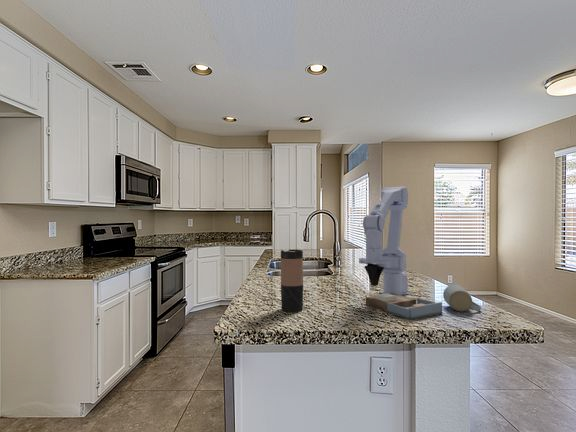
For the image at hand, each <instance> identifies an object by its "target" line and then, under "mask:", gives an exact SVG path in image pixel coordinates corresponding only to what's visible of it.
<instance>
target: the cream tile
mask: <svg viewBox="0 0 576 432" xmlns="http://www.w3.org/2000/svg"><path fill="white" fill-rule="evenodd" d="M376 296H377V299H378V300H381V301H384V302H390V301H396V296H395V295H391V294H387V293H385V294H382V293H379V294H376Z"/></svg>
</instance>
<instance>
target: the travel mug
mask: <svg viewBox="0 0 576 432" xmlns="http://www.w3.org/2000/svg"><path fill="white" fill-rule="evenodd" d="M303 253H304V251H303V249H288V251H287V250H286V251H285V250H284V249H283V250H282V249H281V250H280V298H281V299H280V301H281V302H280V303H281V310H282V311H283V312H284V313H298V312H299V313H300V312H302V311H303V309H304V306H303V305H304V254H303Z"/></svg>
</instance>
